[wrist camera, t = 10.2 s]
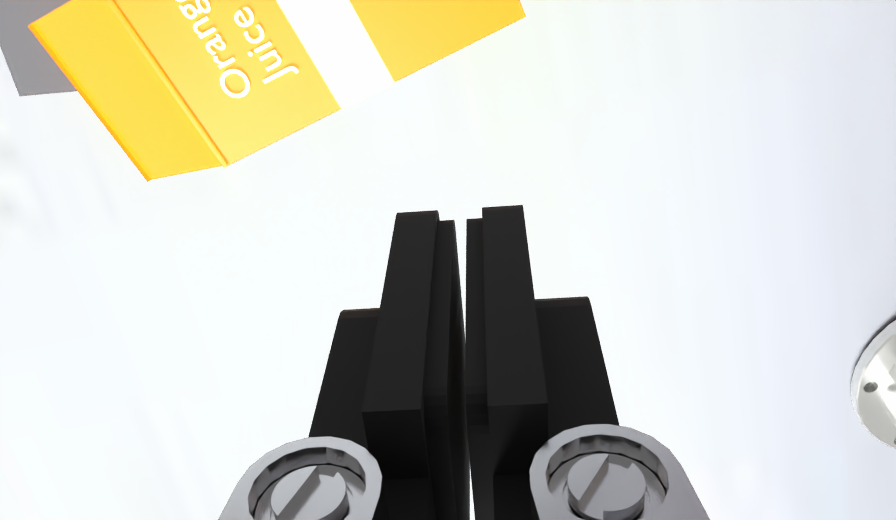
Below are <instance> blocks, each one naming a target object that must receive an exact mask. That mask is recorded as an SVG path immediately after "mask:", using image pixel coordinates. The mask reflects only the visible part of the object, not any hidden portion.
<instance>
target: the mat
mask: <svg viewBox="0 0 896 520" xmlns="http://www.w3.org/2000/svg"><path fill="white" fill-rule="evenodd" d="M69 1H71V0H0V46H1V49H2V52H3V54H4V57H5V59H6V62H7V64H8V67H9V70H10V72H11V75H12V77H13V80H14V83H15V85H16V88H17V90H18V93H19V96H27V95H38V94H49V93H61V92H72V91H77V89H76V88H75V87H74V85H73V84H72V83H71V82H70V80H69V79H68V78H67V76H66V75H65V74H64V72H63V71H62V70H61V69H60V67H59V66H58V65H57V63H56V62H55V61H54V60H53V58H52V57H51V56H50V54H49V53H48V52H47V50H46V49H45V48H44V47H43V45H42V44H41V43H40V41H39V40H38V39H37V37H36V36H35V35H34V34H33V32H32V31H31V30H30V28H29V27H28V25H30V24H32V23H33V22H35V21H37V20H38V19H40V18H42V17H44V16H45V15H47V14H49V13H50V12H52V11H54V10H55V9H57V8H59V7H61V6H62V5H64V4H66V3H67V2H69Z"/></svg>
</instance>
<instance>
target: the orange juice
mask: <svg viewBox="0 0 896 520" xmlns="http://www.w3.org/2000/svg"><path fill="white" fill-rule="evenodd" d="M524 17H526V15H525V13H524V10H523V8H522V5H521V3H520V1H519V0H71V1H69V2H67V3H66V4H64V5H62V6H61V7H59V8H57V9H55V10H54V11H52V12H50V13H49V14H47V15H45V16H44V17H42V18H40V19H38V20H37V21H35V22H33V23H32V24H30V25H28V27H29V28H30V30H31V31H32V32H33V34H34V35H35V36H36V37H37V39H38V40H39V41H40V43H41V44H42V45H43V47H44V48H45V49H46V50H47V52H48V53H49V54H50V56H51V57H52V58H53V60H54V61H55V62H56V63H57V65H58V66H59V67H60V69H61V70H62V71H63V72H64V74H65V75H66V76H67V78H68V79H69V80H70V82H71V83H72V84H73V85H74V87H75V88H76V89H77V91H78V92H79V93H80V95H81V96H82V97H83V98H84V100H85V101H86V102H87V104H88V105H89V106H90V107H91V109H92V110H93V111H94V113H95V114H96V115H97V117H98V118H99V119H100V120H101V122H102V123H103V124H104V126H105V127H106V128H107V130H108V131H109V132H110V133H111V135H112V136H113V137H114V139H115V140H116V141H117V142H118V144H119V145H120V146H121V148H122V149H123V150H124V152H125V153H126V154H127V155H128V157H129V158H130V159H131V161H132V162H133V163H134V165H135V166H136V167H137V168H138V170H139V171H140V172H141V174H142V175H143V176H144V177H145V179H146V180H147V181H150V180H152V179H157V178H162V177H167V176H172V175H177V174H183V173H188V172H193V171H198V170H203V169H208V168H213V167H218V166H223V167H224V168H225V167H227V166H229V165H231V164H233V163H235V162H237V161H239V160H241V159H243V158H245V157H247V156H249V155H251V154H253V153H255V152H257V151H259V150H261V149H263V148H265V147H267V146H269V145H271V144H273V143H275V142H277V141H279V140H281V139H283V138H284V137H286V136H288V135H290V134H292V133H294V132H296V131H298V130H300V129H302V128H304V127H306V126H308V125H310V124H312V123H314V122H316V121H318V120H320V119H322V118H324V117H326V116H328V115H330V114H332V113H334V112H336V111H338V110H340V109H342V110H343V109H345V108H347V107H349V106H351V105H353V104H355V103H357V102H359V101H361V100H363V99H365V98H367V97H369V96H371V95H373V94H375V93H377V92H379V91H381V90H383V89H385V88H387V87H389V86H391V85H393V84H395V82H396V81H398V80H400V79H402V78H404V77H406V76H408V75H410V74H412V73H414V72H416V71H418V70H420V69H422V68H424V67H426V66H428V65H430V64H432V63H434V62H436V61H438V60H440V59H442V58H444V57H446V56H448V55H450V54H452V53H454V52H456V51H458V50H460V49H462V48H464V47H466V46H468V45H470V44H472V43H474V42H476V41H478V40H480V39H482V38H484V37H486V36H488V35H490V34H492V33H494V32H496V31H498V30H500V29H502V28H504V27H506V26H508V25H510V24H512V23H514V22H516V21H518V20H520V19H522V18H524Z"/></svg>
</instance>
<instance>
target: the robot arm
mask: <svg viewBox="0 0 896 520" xmlns="http://www.w3.org/2000/svg"><path fill="white" fill-rule="evenodd" d="M851 400H852V404H853V408H854V410H855V412H856V414H857V416H858V417H859V419H860V421H861V423H862V424H863V425H864V427H865V428H866V429H867V430H868V432H869V433H870V434H871V435H872V436H874V437H875V438H876V439H878V440H879V441H880V442H882V443H884V444H886V445H888V446H890V447H892V448H894V449H896V320H895V321H893V322H892V323H891V324H889V325H888V326H887V327H886V328H885V329H884V330H883V331H882V332H880V333H879V334H878V335H877V336H876V337H875V338H874V339H873V340H872V342H871V343H870V344H869V346H868V347H867V348H866V349H865V351H864V352H863V354H862V355H861V357H860V359H859V361H858V363H857V365H856V367H855V370H854V373H853V377H852V381H851ZM470 469H471V479H472V490H473V501H474V511H475V520H710V519H709V517H708V515H707V513H706V511H705V510H704V508H703V506H702V504H701V502H700V500H699V498H698V496H697V494H696V492H695V491H694V489H693V487H692V485H691V483H690V481H689V479H688V477H687V475H686V473H685V472H684V470H683V468H682V466H681V464H680V463H679V462H678V460H677V459H676V458H675V456H674V455H673V454H672V453H671V451H670V450H669V449H668V448H667V447H665V446H664V445H663V444H661V443H660V442H658V441H657V440H656V439H654V438H653V437H651V436H649V435H647V434H644V433H642V432H639V431H637V430H634V429H632V428H628V427H622V426H619V422H618V418H617V414H616V410H615V405H614V401H613V397H612V393H611V388H610V384H609V380H608V376H607V371H606V367H605V363H604V358H603V354H602V350H601V346H600V341H599V337H598V333H597V329H596V324H595V320H594V316H593V312H592V307H591V304H590V300H589V298H588V297H570V298H552V299H534V291H533V283H532V275H531V267H530V259H529V251H528V243H527V235H526V227H525V219H524V212H523V205H516V206H500V207H484V208H482V218H478V219H467V236H466V344H465V333H464V321H463V310H462V299H461V287H460V276H459V265H458V253H457V242H456V231H455V222H454V220H446V221H440V220H439V213H438V210H436V211H420V212H404V213H397V215H396V219H395V225H394V231H393V237H392V242H391V248H390V254H389V259H388V265H387V271H386V276H385V282H384V288H383V293H382V299H381V305H380V308H371V309H353V310H343V311H342V312H341V313H340V316H339V318H338V322H337V326H336V330H335V334H334V338H333V342H332V346H331V350H330V354H329V358H328V362H327V366H326V370H325V374H324V378H323V382H322V385H321V389H320V393H319V397H318V401H317V405H316V409H315V413H314V417H313V421H312V425H311V429H310V433H309V437H308V438H304V439H301V440H297V441H293V442H289V443H286V444H284V445H282V446H280V447H278V448H276V449H274V450H272V451H270V452H268V453H266V454H265V455H264V456H263V457H261V458H260V459H259V460H258V461H256V462H255V463H254V464H253V465H251V466H250V467H249V468H248V470H247V471H246V472H245V474H244V475H243V477H242V478H241V479H240V481H239V482H238V483H237V485H236V487H235V489H234V491H233V493H232V495H231V496H230V498H229V500H228V502H227V504H226V506H225V508H224V510H223V512H222V513H221V515H220V517H219V519H218V520H470Z"/></svg>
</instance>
